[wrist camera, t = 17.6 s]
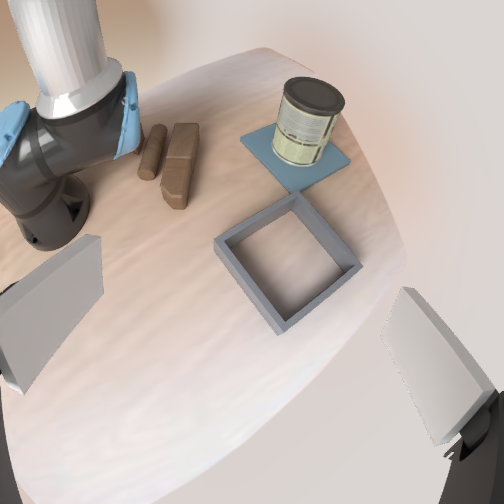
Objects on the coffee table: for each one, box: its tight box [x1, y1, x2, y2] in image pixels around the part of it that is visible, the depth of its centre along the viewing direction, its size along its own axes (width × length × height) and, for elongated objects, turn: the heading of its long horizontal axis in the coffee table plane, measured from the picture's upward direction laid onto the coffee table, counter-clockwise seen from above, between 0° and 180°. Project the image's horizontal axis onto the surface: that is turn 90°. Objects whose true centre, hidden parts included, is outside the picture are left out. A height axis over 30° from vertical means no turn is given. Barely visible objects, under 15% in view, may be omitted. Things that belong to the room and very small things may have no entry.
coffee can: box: [271, 77, 345, 167], centre depth 46 cm, size 10×10×14 cm
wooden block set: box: [133, 123, 199, 209], centre depth 46 cm, size 17×6×18 cm
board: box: [240, 123, 351, 194], centre depth 53 cm, size 16×16×1 cm
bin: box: [214, 190, 363, 336], centre depth 42 cm, size 16×16×4 cm
